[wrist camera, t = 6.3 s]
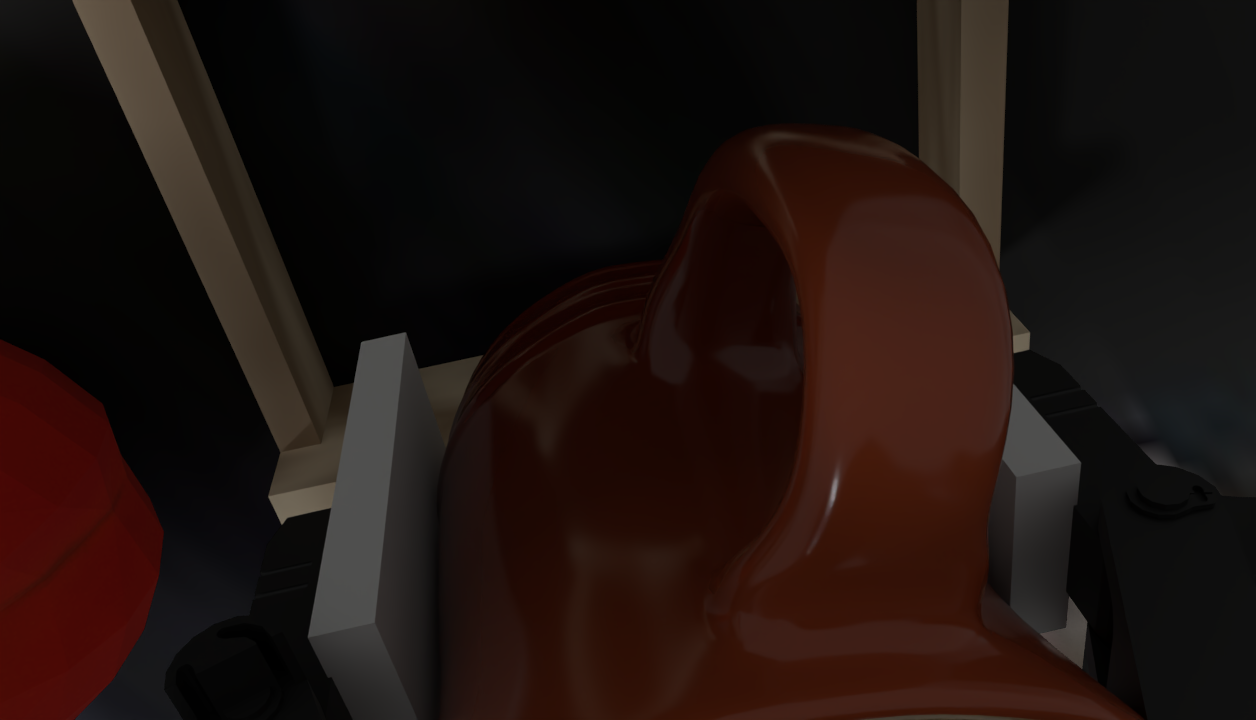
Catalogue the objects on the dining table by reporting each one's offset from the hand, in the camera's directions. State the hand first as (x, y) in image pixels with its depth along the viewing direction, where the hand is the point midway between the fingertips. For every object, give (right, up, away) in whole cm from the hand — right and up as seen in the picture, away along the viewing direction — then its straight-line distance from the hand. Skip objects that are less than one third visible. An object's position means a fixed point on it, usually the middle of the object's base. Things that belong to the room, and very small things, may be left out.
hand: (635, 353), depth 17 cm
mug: (0, 0, 0) cm, 1 cm away
